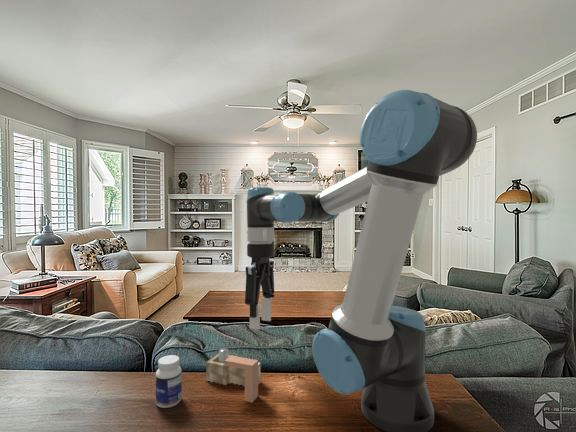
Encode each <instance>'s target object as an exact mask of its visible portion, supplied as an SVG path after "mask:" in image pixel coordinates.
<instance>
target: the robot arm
mask: <svg viewBox="0 0 576 432" xmlns="http://www.w3.org/2000/svg"><path fill="white" fill-rule="evenodd" d="M477 141H478V130H477V126H476V123H475V121H474V119H473V118H472V116H471V115H470V114H469V113H468V112H466V111H465V110H463V109H462V108H460V107H458V106H455V105H452V104H449V103H448V102H444V101H442V100H440V99H438V98H436V97H434V96H432V95H431V94H428V93H425V92H418V91H415V90H411V89H401V90H395V91H392V92H390V93H387V94H386V95H384V96H383V97H382V98H381V99H380V100H379V101H378V102H376V103H374V104H373V105H372V107H371V108H370V109H369V111H367V113H366V115H365V117H364V119H363V122H362V124H361V127H360V131H359V144H360V146H361V147H362V153H363V155H364V156H365V157H366V158H367V166H365V167H363V168H362V169H359V170H358V171H356V172H354V173H352V174H350V175H348V176H347V177H345V178H343V179H341V180H340V181H338V182H335V183H334V184H331V185H330V186H328V187H326V188H325V189H323V190H321V191H319V192H317V193H297V192H295V191H282V192H275V191H274V188H272V187H268V186H267V187H265V186H257V187H250V188H249V189H248V190H247V194H246V195H247V197H246V223H247V224H246V226H247V227H246V228H247V230H246V234H247V235H246V236H247V238H246V239H247V242H249V243H247V244H246V249H247V250H246V251H247V252H246V255H247V257H249V258H251V263H250V266H245V295H244V304H245V305H248V306H249V329H250V330H260V329H261V327H260V326H261V321H265V322H271V321H272V298H275V278H274V277H275V276H274V274H275V273H274V267H275V266H274V265H275V262H274V260H270V258H273V257H274V255H275V244H274V243H273V242H274V241H275V223H297V222H298V223H299V222H300V223H302V222H315V223H316V222H321V223H325V222H331V221H334V220H336V219H337V217H338V216H339V215H340V214H342V213H344V212H346V211H348V210H350V209H353V208H355V207H358V206H360V205H362V204H364V203H367V204H366V206H365V207H366V208H365V211H364V215H363V219H362V222H361V223H362V224H361V228H360V231H359V236H358V240H357V243H356V248H355V251H354V252H355V253H354V257H353V259H352V260H353V261H352V264H351V269H350V274H349V276H348V281H347V286H346V288H345V294H344V298H343V301H342V303H341V304H339V305H336V306H335V307H334V308H333V310H332V313H331V316H330V321H329V325H328V327H327V328H323V329H320V330H319V331H318V332H317V333H316V334H315V335H314V336H313V339H312V347H311V348H312V350H311V351H312V357H313V361H314V363H315V366H316V369H317V371H318V373H319V375H320V377H321V378H322V380H323V381H324V382H325V384H326V385H327V386H329V387H330V389H332V390H333V391H335V392H336V393H338V394H341V395H350V394H352V393H354V392H362V395H361V399H360V404H361V406H360V408H361V413H362V415H363V417H364V418H365V419H366V420H367V421H368V422H369V423H370V424H371V425H373V427H376V428H378V429H380V430H382V431H384V432H430V430H432V428H433V427H434V424H435V410H434V409H435V408H434V405H433V403H432V400H431V396H430V393H429V390H428V387H427V383H426V333H427V331H426V326H425V318H424V315H422V314H421V313H420V312H419V311H417V310H415V309H413V308H412V309H411V308H408V307H405V306H398V305H393V304H394V300H395V297H396V293H397V289H398V286H399V282H400V279H401V276H402V275H401V274H402V271H403V268H404V265H405V261H406V257H407V255H408V250H409V247H410V244H411V241H412V237H413V232H414V230H415V227H416V221H417V219H418V215H419V212H420V208H421V205H422V201H423V198H424V195H425V194H426V193H427V192H428V191H431V190H432V189H433V188H435V187H437V184H438V182H439V178H440V176H443V175H445V174H448V173H451V172H452V171H455V170H457V169H458V168H460V167H461V166H462V165H464V164H465V163H467V161H468V160H469V159H470V158H471V156H472V154H473V153H474V150H475V148H476V146H477V143H478V142H477ZM261 291H262V297H261V305H260V304H259V300H260V292H261ZM260 314H261V315H260ZM362 390H363V391H362Z"/></svg>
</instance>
